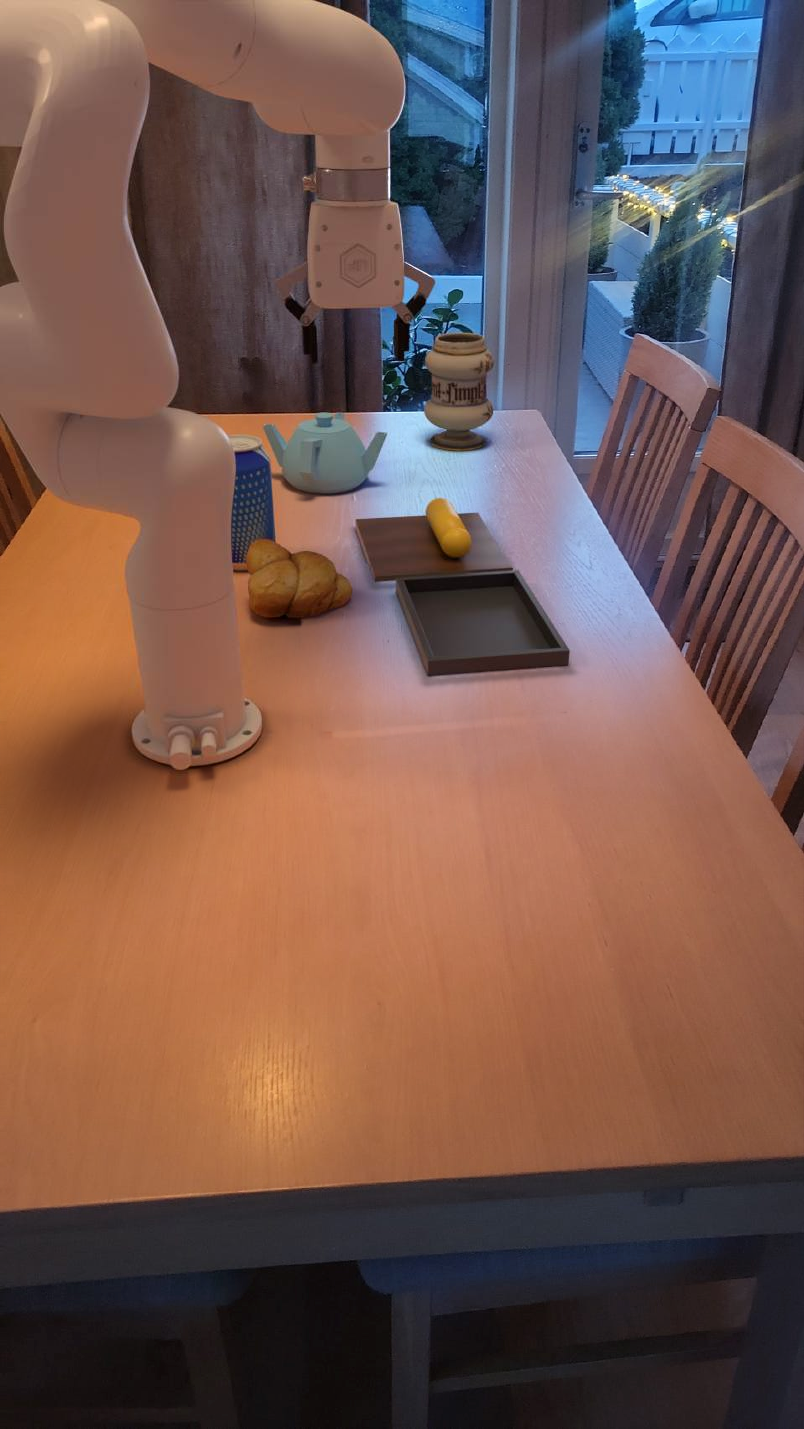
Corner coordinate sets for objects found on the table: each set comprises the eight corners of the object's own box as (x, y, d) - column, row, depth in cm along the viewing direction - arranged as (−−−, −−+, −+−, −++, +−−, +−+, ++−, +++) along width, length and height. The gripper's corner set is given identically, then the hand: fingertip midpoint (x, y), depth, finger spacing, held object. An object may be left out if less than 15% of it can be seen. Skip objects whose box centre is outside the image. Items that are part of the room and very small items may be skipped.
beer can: (217, 576, 133) (205, 454, 125) (210, 551, 140) (198, 434, 131) (281, 569, 135) (274, 449, 126) (271, 545, 142) (263, 430, 133)
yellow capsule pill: (450, 567, 134) (478, 555, 133) (439, 541, 131) (468, 528, 131) (429, 525, 146) (455, 513, 146) (419, 501, 144) (445, 489, 144)
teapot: (261, 475, 167) (257, 409, 161) (343, 460, 173) (341, 396, 168) (305, 504, 156) (301, 433, 150) (389, 487, 162) (389, 418, 157)
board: (512, 578, 133) (513, 567, 132) (374, 587, 130) (374, 576, 130) (477, 522, 150) (478, 512, 149) (355, 528, 147) (355, 519, 146)
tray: (567, 671, 112) (570, 650, 111) (427, 682, 110) (428, 661, 109) (517, 588, 130) (518, 569, 129) (395, 596, 128) (396, 577, 127)
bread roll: (355, 593, 129) (353, 533, 125) (349, 628, 121) (347, 565, 116) (252, 591, 129) (248, 531, 125) (240, 626, 121) (234, 563, 117)
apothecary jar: (417, 434, 186) (419, 330, 177) (482, 431, 188) (486, 328, 179) (431, 454, 176) (433, 346, 167) (499, 451, 178) (505, 343, 169)
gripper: (270, 192, 101) (280, 370, 110) (443, 190, 103) (439, 365, 112) (266, 185, 107) (276, 354, 116) (429, 184, 110) (426, 350, 119)
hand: (356, 359), depth 114 cm, fingers open, 9 cm apart
